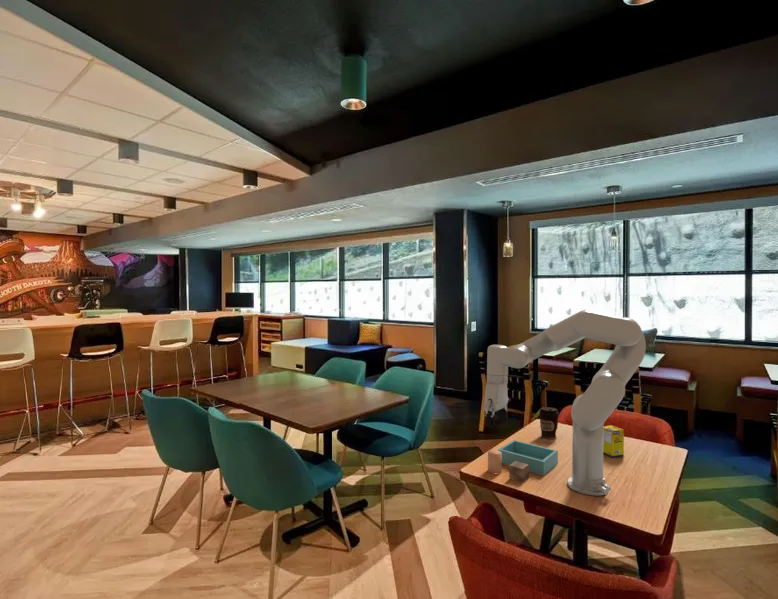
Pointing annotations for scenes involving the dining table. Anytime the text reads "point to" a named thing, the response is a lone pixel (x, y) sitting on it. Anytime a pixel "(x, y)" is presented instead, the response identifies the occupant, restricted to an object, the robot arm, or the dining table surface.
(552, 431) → the coffee cup
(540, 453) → the tote
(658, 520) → the dining table surface
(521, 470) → the cube
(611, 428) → the supplement box
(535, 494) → the dining table surface
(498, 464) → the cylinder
